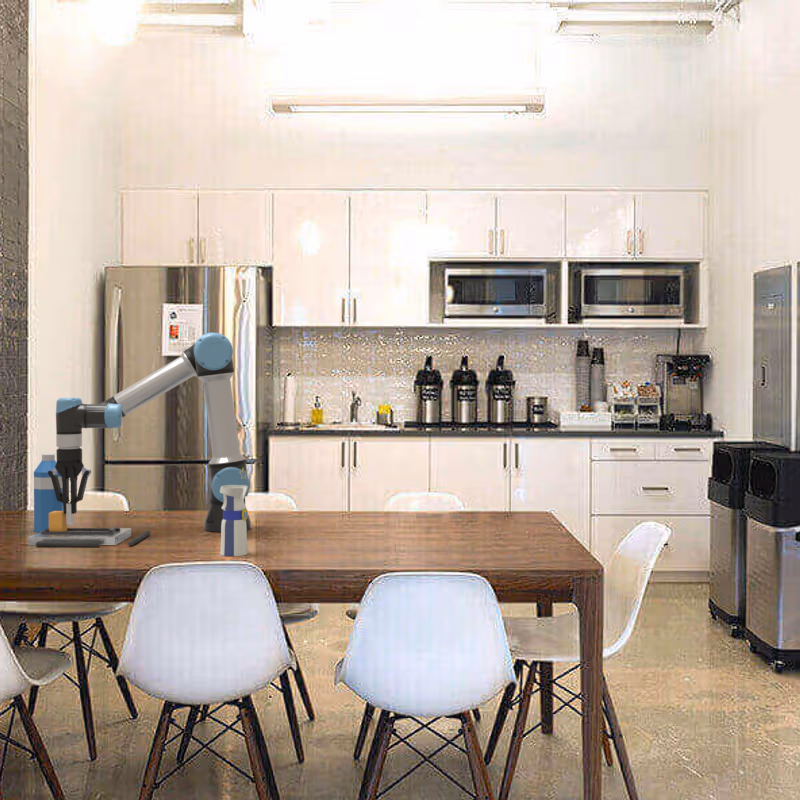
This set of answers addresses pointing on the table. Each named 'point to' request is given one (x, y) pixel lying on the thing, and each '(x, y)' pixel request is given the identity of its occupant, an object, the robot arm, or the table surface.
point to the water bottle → (45, 493)
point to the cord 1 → (66, 544)
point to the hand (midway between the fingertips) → (70, 524)
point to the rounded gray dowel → (139, 538)
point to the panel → (83, 535)
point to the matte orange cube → (57, 521)
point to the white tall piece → (234, 519)
